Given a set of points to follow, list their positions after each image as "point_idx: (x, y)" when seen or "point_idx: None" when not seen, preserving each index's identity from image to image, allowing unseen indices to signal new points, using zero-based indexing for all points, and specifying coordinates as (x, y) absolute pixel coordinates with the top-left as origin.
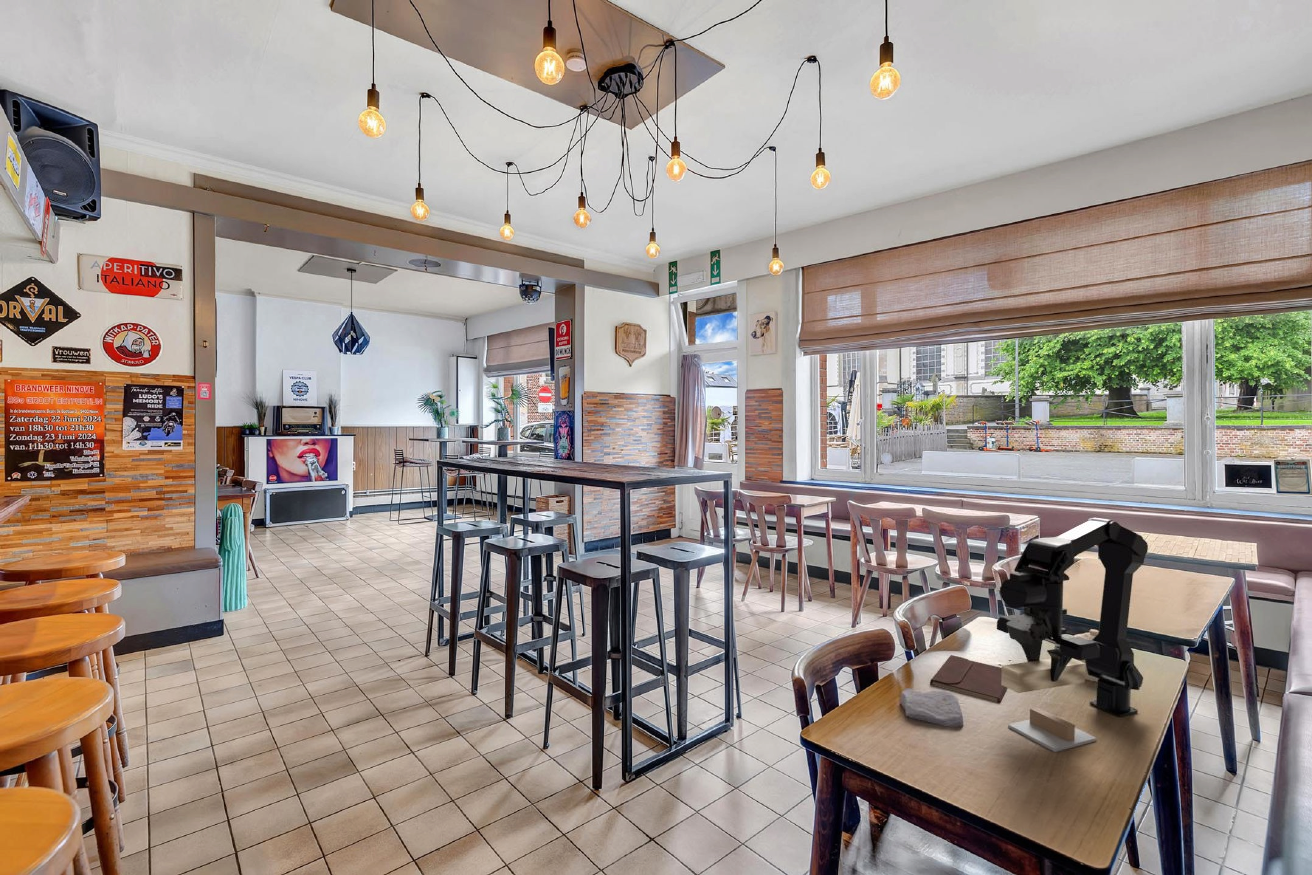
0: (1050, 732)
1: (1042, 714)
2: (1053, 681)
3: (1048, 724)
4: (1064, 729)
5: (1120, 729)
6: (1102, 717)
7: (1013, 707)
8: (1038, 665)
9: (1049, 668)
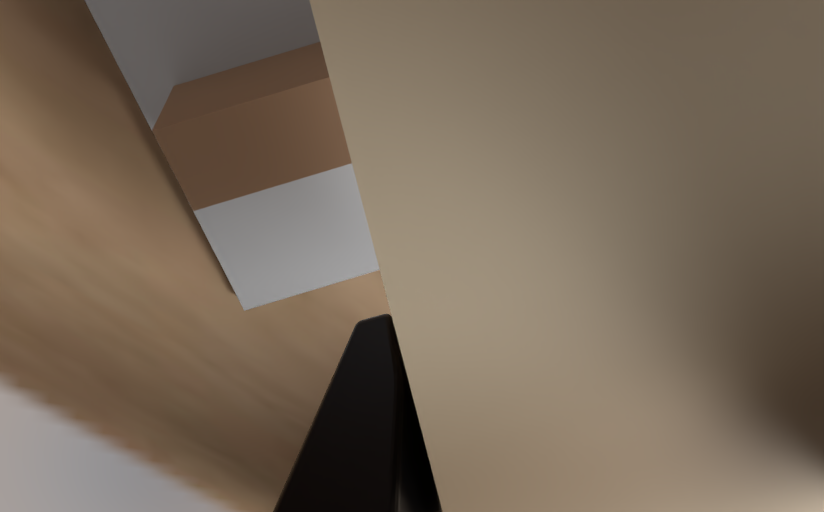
0: (307, 44)
1: None
2: (360, 325)
3: None
4: (190, 107)
5: None
6: None
7: None
8: (664, 326)
9: (441, 457)
